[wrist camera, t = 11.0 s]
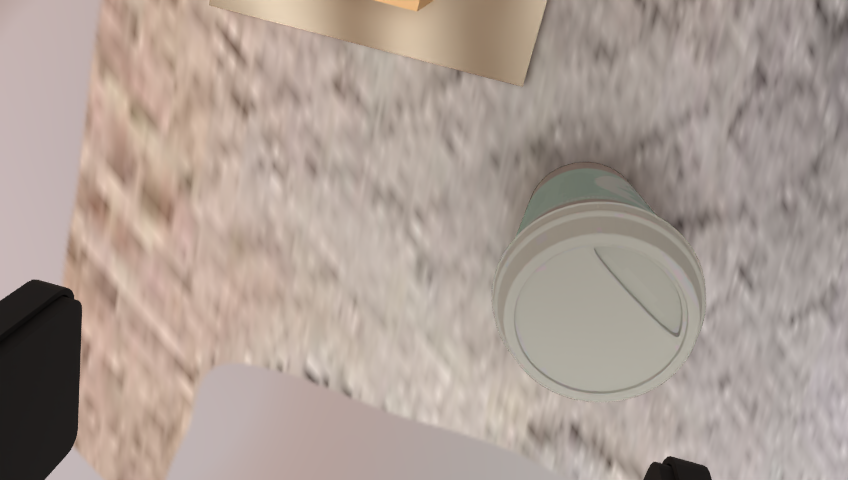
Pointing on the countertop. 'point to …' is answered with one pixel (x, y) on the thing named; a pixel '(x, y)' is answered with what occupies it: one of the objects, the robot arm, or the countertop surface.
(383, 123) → the countertop surface
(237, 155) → the countertop surface
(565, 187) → the coffee cup
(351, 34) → the post board
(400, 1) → the tan matte cube
